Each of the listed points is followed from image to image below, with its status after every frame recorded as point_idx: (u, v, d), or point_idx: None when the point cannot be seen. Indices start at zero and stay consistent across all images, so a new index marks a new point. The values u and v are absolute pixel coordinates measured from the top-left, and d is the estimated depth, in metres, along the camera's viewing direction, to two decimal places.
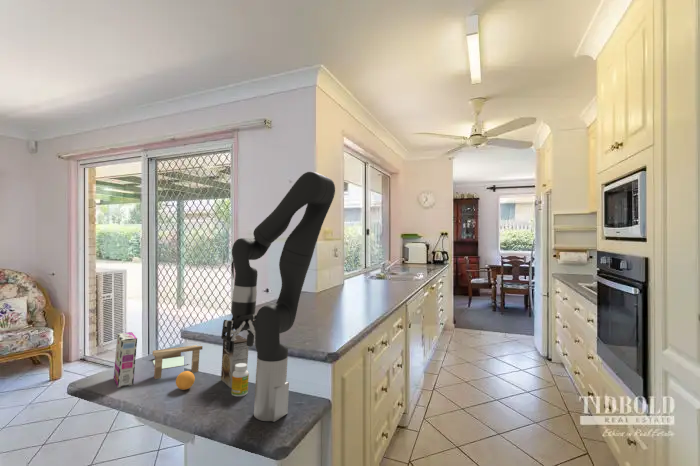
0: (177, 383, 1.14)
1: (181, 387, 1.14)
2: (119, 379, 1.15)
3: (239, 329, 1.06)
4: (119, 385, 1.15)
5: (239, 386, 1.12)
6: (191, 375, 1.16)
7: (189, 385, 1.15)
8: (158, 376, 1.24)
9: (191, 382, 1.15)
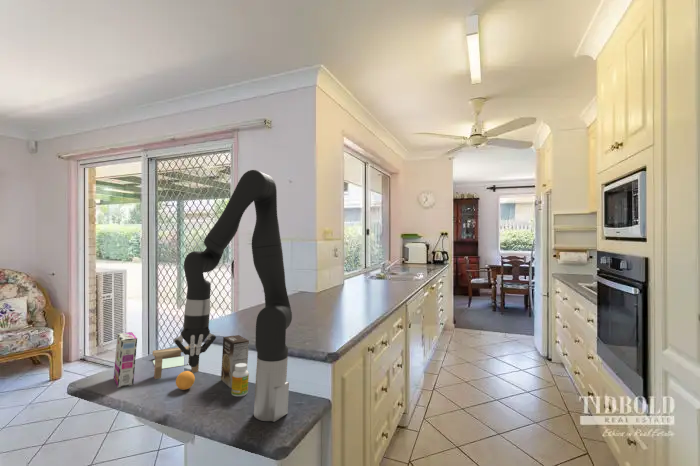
0: (177, 383, 1.14)
1: (181, 387, 1.14)
2: (119, 379, 1.15)
3: None
4: (119, 385, 1.15)
5: (239, 386, 1.12)
6: (191, 375, 1.16)
7: (189, 385, 1.15)
8: (158, 376, 1.24)
9: (191, 382, 1.15)
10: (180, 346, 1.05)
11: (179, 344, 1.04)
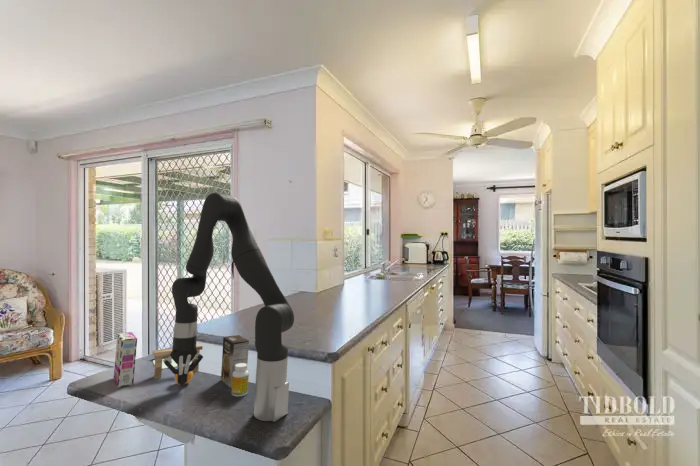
0: None
1: None
2: (119, 379, 1.15)
3: None
4: (119, 385, 1.15)
5: (239, 386, 1.12)
6: None
7: None
8: (158, 376, 1.24)
9: None
10: (169, 366, 1.13)
11: (168, 364, 1.13)
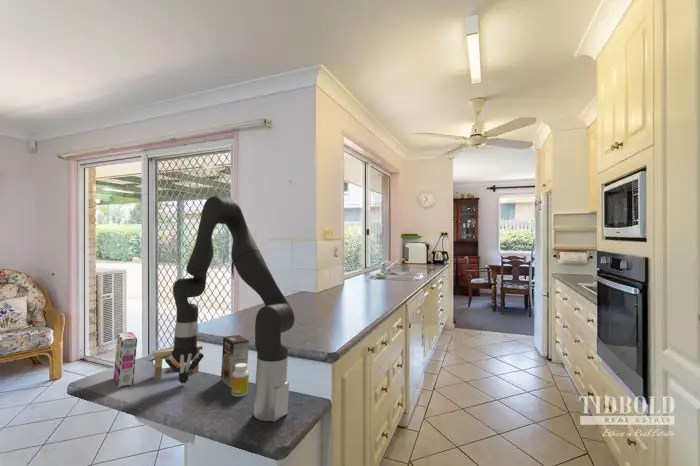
0: (173, 360, 1.33)
1: None
2: (119, 379, 1.15)
3: None
4: (119, 385, 1.15)
5: (239, 386, 1.12)
6: None
7: None
8: (158, 376, 1.24)
9: None
10: (171, 365, 1.16)
11: (170, 363, 1.16)
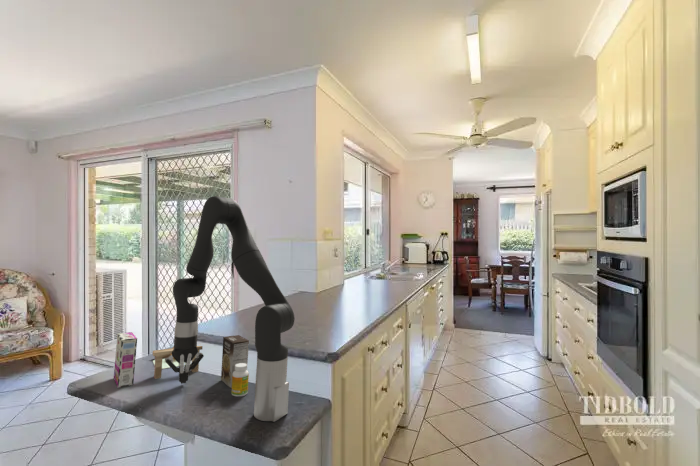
0: None
1: None
2: (119, 379, 1.15)
3: None
4: (119, 385, 1.15)
5: (239, 386, 1.12)
6: None
7: None
8: (158, 376, 1.24)
9: None
10: (171, 365, 1.16)
11: (170, 363, 1.16)
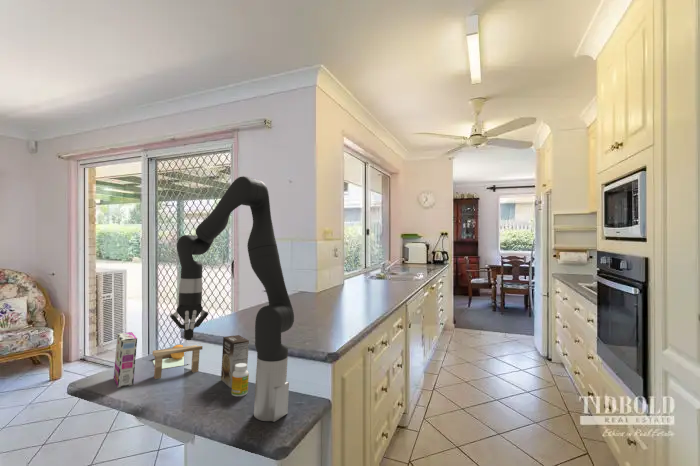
0: None
1: None
2: (119, 379, 1.15)
3: None
4: (119, 385, 1.15)
5: (239, 386, 1.12)
6: (182, 356, 1.45)
7: None
8: (158, 376, 1.24)
9: None
10: (176, 321, 1.16)
11: (175, 319, 1.16)
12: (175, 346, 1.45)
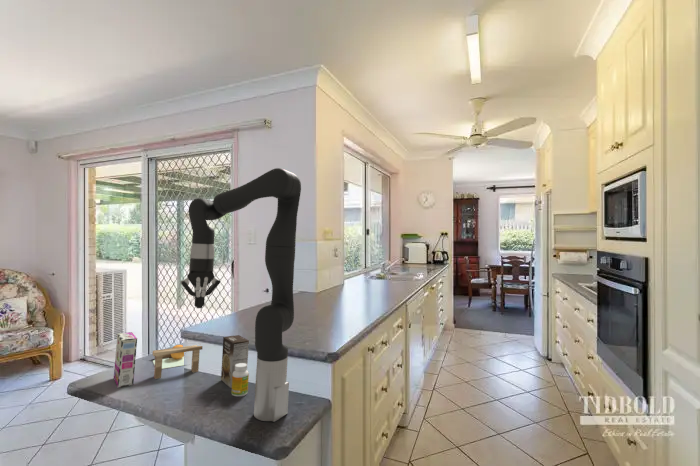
0: None
1: None
2: (119, 379, 1.15)
3: None
4: (119, 385, 1.15)
5: (239, 386, 1.12)
6: (182, 356, 1.45)
7: None
8: (158, 376, 1.24)
9: None
10: (186, 287, 1.11)
11: (185, 285, 1.10)
12: (175, 346, 1.45)
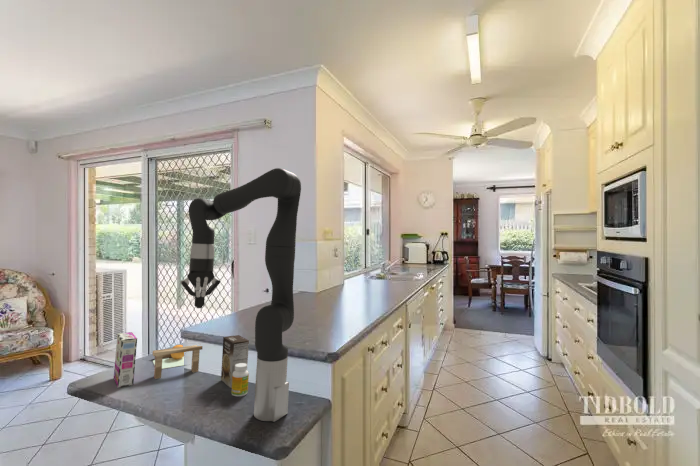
0: None
1: None
2: (119, 379, 1.15)
3: None
4: (119, 385, 1.15)
5: (239, 386, 1.12)
6: (182, 356, 1.45)
7: None
8: (158, 376, 1.24)
9: None
10: (186, 287, 1.11)
11: (185, 285, 1.10)
12: (175, 346, 1.45)
